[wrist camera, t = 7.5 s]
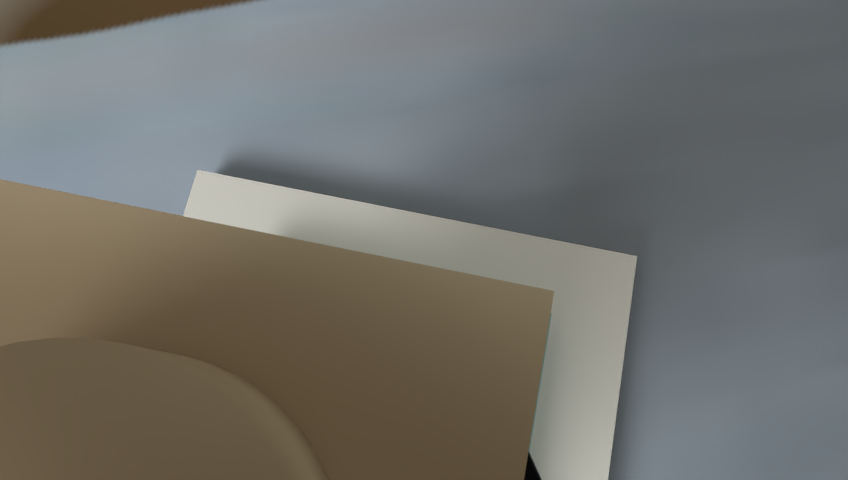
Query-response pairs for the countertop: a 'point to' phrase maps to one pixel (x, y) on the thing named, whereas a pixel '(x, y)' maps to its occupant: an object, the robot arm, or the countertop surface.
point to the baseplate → (488, 257)
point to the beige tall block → (249, 354)
